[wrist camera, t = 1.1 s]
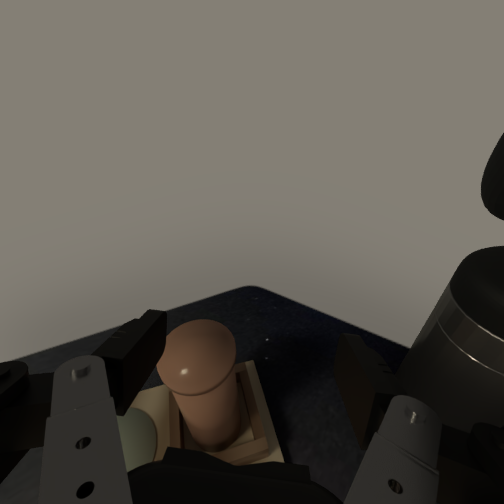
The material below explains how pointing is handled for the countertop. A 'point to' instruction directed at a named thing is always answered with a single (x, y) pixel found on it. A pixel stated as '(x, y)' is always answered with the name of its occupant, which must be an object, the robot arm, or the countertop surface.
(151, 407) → the board
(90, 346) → the countertop surface
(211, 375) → the tall brown tankard
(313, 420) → the countertop surface
